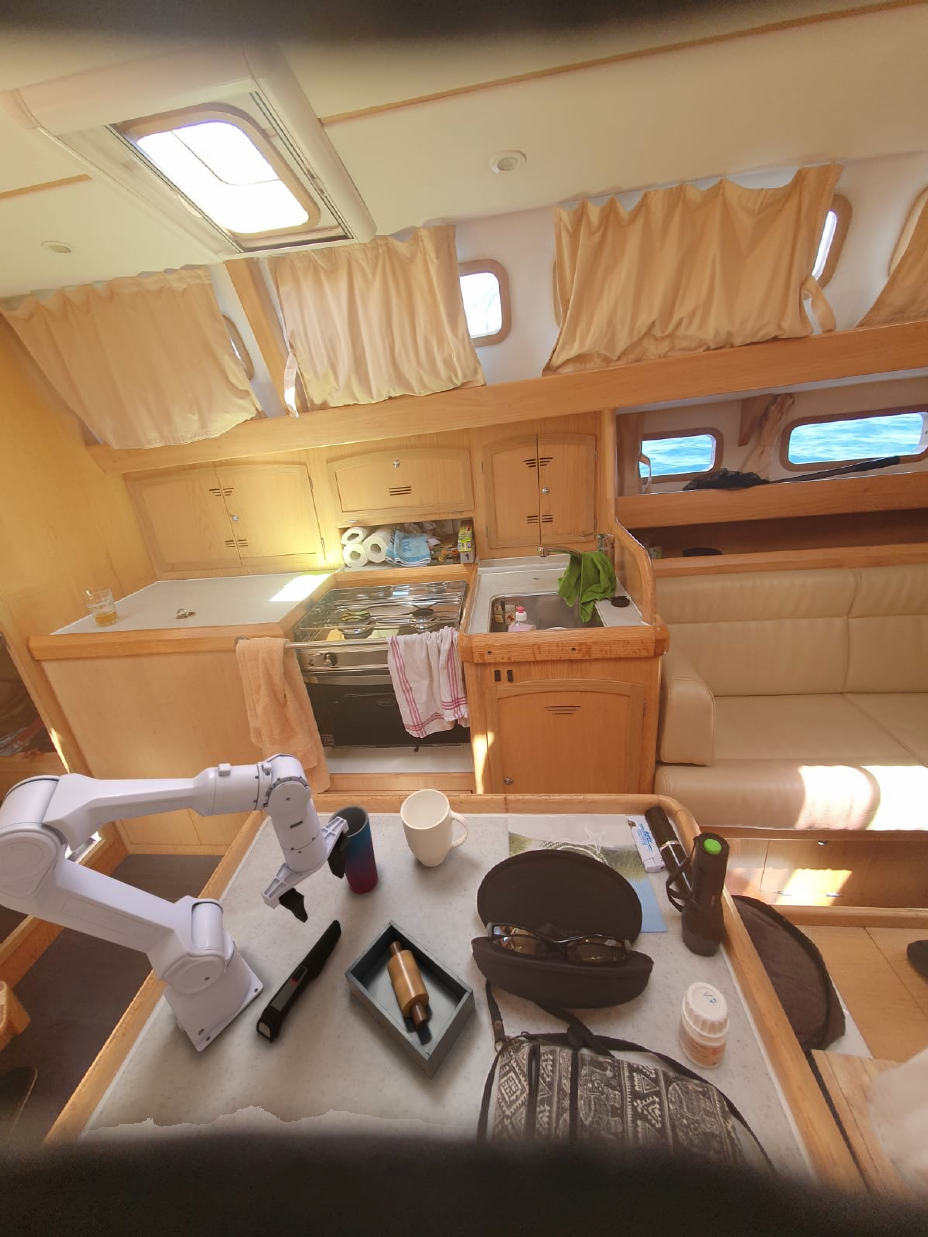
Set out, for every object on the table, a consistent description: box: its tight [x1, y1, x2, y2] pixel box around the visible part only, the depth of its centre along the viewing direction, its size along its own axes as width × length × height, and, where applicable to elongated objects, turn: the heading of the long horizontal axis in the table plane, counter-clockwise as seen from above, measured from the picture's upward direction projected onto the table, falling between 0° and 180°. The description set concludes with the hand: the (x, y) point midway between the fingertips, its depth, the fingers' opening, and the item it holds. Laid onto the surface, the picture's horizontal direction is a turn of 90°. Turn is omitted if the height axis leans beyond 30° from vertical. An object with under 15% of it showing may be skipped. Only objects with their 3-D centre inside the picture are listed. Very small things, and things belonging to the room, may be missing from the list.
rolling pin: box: [387, 941, 429, 1030], centre depth 64 cm, size 4×11×4 cm, turn 28°
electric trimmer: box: [255, 919, 343, 1043], centre depth 67 cm, size 4×16×3 cm, turn 153°
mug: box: [399, 788, 469, 868], centre depth 83 cm, size 12×9×12 cm
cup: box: [327, 804, 379, 895], centre depth 78 cm, size 7×7×15 cm
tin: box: [343, 919, 476, 1080], centre depth 63 cm, size 9×16×4 cm, turn 52°
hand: (320, 895), depth 70 cm, fingers open, 7 cm apart
